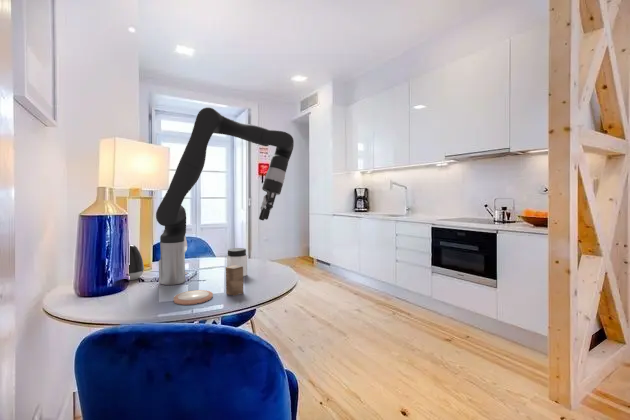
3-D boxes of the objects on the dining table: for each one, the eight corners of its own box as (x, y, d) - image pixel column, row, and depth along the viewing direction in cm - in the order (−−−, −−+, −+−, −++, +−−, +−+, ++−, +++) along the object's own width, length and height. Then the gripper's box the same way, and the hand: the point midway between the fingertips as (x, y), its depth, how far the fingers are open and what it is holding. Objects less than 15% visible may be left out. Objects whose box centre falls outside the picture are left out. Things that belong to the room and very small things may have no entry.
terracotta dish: (165, 303, 108) (165, 300, 108) (187, 292, 121) (187, 288, 121) (200, 305, 106) (200, 302, 106) (219, 293, 118) (219, 290, 118)
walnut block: (226, 293, 118) (225, 267, 118) (235, 290, 122) (235, 265, 121) (234, 295, 116) (233, 268, 115) (243, 292, 119) (243, 266, 119)
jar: (225, 274, 146) (224, 249, 146) (241, 272, 151) (241, 247, 151) (232, 279, 139) (231, 251, 139) (249, 276, 144) (249, 249, 143)
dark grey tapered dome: (112, 279, 139) (111, 245, 138) (137, 274, 147) (136, 242, 147) (124, 283, 133) (122, 247, 132) (148, 278, 141) (147, 244, 141)
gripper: (262, 181, 134) (251, 217, 132) (268, 174, 121) (256, 215, 118) (279, 186, 136) (268, 222, 134) (286, 181, 123) (275, 221, 120)
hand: (262, 219), depth 126 cm, fingers open, 8 cm apart
